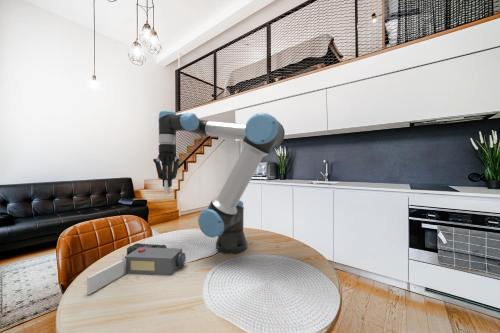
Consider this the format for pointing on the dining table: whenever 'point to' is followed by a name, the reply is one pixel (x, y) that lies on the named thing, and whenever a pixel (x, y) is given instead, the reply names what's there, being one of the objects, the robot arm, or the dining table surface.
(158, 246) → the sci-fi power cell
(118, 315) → the dining table surface
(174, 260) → the camera body
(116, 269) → the side door
